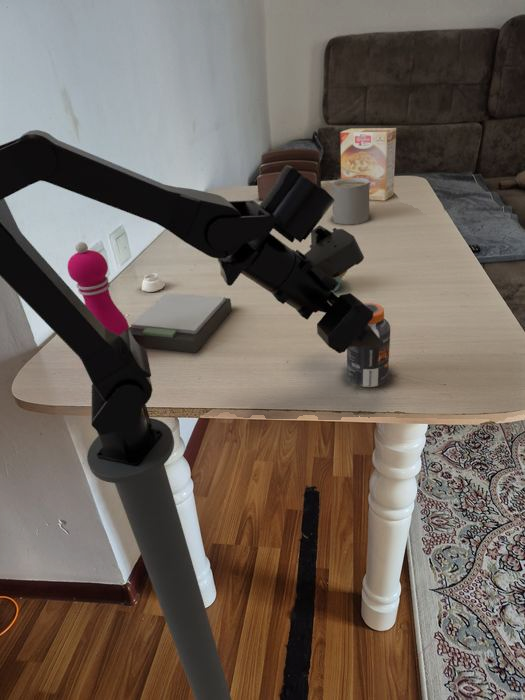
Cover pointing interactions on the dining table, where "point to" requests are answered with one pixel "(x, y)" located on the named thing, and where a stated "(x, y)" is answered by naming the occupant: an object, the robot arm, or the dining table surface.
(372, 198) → the coffeecake box
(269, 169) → the letter holder
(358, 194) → the coffee mug
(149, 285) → the white jar
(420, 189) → the dining table surface
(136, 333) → the scale
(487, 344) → the dining table surface
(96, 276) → the pepper mill
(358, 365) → the pill bottle
